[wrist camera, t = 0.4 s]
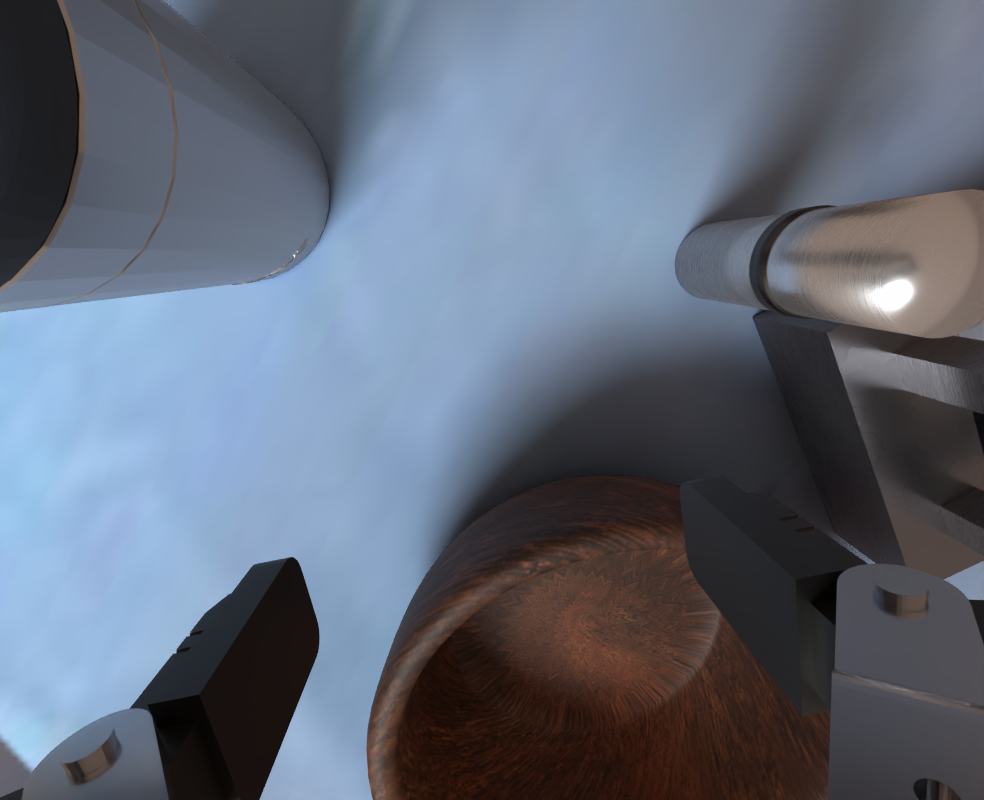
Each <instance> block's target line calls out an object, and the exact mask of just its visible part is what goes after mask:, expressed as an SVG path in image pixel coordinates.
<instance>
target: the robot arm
mask: <svg viewBox="0 0 984 800" xmlns="http://www.w3.org/2000/svg"><path fill="white" fill-rule="evenodd" d="M329 190H330V188H329V182H328V176H327V170H326V166H325V164H324V161H323V158H322V155H321V153H320V150H319V147H318V146H317V144H316V142H315V141H314V139H313V137H312V136H311V134H310V132H309V131H308V129H307V127H306V126H305V125H304V124H303V123H302V122H301V121H300V120H299V118H298V117H297V116H296V115H295V114H294V113H293V112H292V111H291V110H290V109H289V108H288V107H287V106H286V105H284V104H283V103H282V102H281V101H280V100H279V99H277V98H276V97H275V96H274V95H273V94H272V93H270V92H269V91H268V90H267V89H266V88H265V87H263V86H262V85H261V84H260V83H259V82H258V81H257V80H256V79H255V78H253V77H252V76H251V75H250V74H249V73H248V72H246V71H245V70H244V69H243V68H242V67H241V66H239V65H238V64H237V63H236V62H235V61H234V60H232V59H231V58H230V57H229V56H228V55H227V54H225V53H224V52H223V51H222V50H221V49H220V48H218V47H217V46H216V45H215V44H214V43H213V42H211V41H210V40H209V39H208V38H207V37H206V36H204V35H203V34H202V33H201V32H200V31H199V30H197V29H196V28H195V27H194V26H193V25H192V24H190V23H189V22H188V21H187V20H186V19H185V18H183V17H182V16H181V15H180V14H179V13H178V12H176V11H175V10H174V9H173V8H172V7H171V6H169V5H168V4H167V3H166V2H165V1H164V0H0V312H8V311H16V310H24V309H33V308H41V307H49V306H55V305H64V304H72V303H80V302H89V301H97V300H105V299H114V298H122V297H130V296H139V295H147V294H155V293H164V292H172V291H180V290H189V289H197V288H205V287H214V286H222V285H230V284H232V285H237V284H246V283H252V282H256V281H260V280H265V279H270V278H274V277H276V276H278V275H281V274H283V273H285V272H287V271H290V270H291V269H292V268H294V267H295V266H296V265H297V264H299V263H300V262H301V261H303V260H304V259H305V258H306V257H307V255H308V254H309V253H310V252H311V250H312V249H313V248H314V247H315V246H316V244H317V242H318V240H319V238H320V236H321V234H322V232H323V230H324V227H325V223H326V219H327V215H328V211H329ZM680 501H681V510H682V520H683V529H684V539H685V549H686V555H687V559H688V563H689V566H690V568H691V571H692V573H693V575H694V577H695V579H696V581H697V582H698V584H699V585H700V586H701V587H702V589H703V590H704V591H705V593H706V594H707V595H708V596H709V598H710V599H711V600H712V602H713V603H714V604H715V605H716V607H717V608H718V609H719V611H720V612H721V613H722V614H723V616H724V617H725V618H726V620H727V621H728V622H729V623H730V625H731V626H732V627H733V629H734V630H735V631H736V632H737V634H738V635H739V636H740V638H741V639H742V640H743V641H744V643H745V644H746V645H747V647H748V648H749V649H750V650H751V652H752V653H753V654H754V656H755V657H756V658H757V659H758V661H759V662H760V663H761V665H762V666H763V667H764V668H765V670H766V671H767V672H768V673H769V675H770V676H771V677H772V679H773V680H774V681H775V682H776V684H777V685H778V686H779V688H780V689H781V690H782V691H783V693H784V694H785V695H786V697H787V698H788V699H789V700H790V702H791V703H792V704H793V706H794V707H795V708H796V709H797V711H798V712H799V713H800V715H801V716H802V717H804V716H809V715H814V714H819V713H824V712H829V711H831V720H830V751H829V782H828V800H984V600H968V598H967V597H966V596H965V595H964V594H963V593H962V592H961V591H960V590H959V589H958V588H956V587H955V586H953V585H952V584H950V583H949V582H947V581H945V580H943V579H941V578H939V577H937V576H934V575H932V574H930V573H927V572H924V571H921V570H918V569H914V568H909V567H905V566H899V565H892V564H867V563H866V562H864V561H863V560H862V559H860V558H859V557H857V556H856V555H854V554H853V553H851V552H850V551H849V550H847V549H846V548H844V547H843V546H841V545H840V544H838V543H837V542H836V541H834V540H833V539H831V538H830V537H828V536H827V535H826V534H824V533H823V532H821V531H820V530H818V529H817V530H815V529H814V526H813V525H811V524H810V523H808V522H807V521H805V520H804V519H802V518H798V515H797V514H795V513H794V512H792V511H791V510H789V509H788V508H787V507H785V506H784V505H782V504H781V503H779V502H777V501H774V500H771V499H768V498H766V497H763V496H760V495H757V494H754V493H751V494H745V493H744V492H743V491H741V490H740V489H739V488H737V487H736V486H735V485H733V484H732V483H731V482H729V481H728V480H727V479H725V478H724V477H722V476H721V475H716V476H711V477H706V478H700V479H695V480H690V481H685V482H682V484H681V486H680ZM318 649H319V627H318V622H317V618H316V615H315V612H314V609H313V605H312V602H311V599H310V596H309V592H308V589H307V586H306V583H305V579H304V576H303V573H302V570H301V567H300V565H299V563H298V561H297V560H296V559H295V558H293V557H290V558H285V559H279V560H274V561H269V562H264V563H259V564H255V565H253V566H252V567H251V568H250V570H249V571H248V572H247V574H246V575H245V576H244V578H243V579H242V580H241V582H240V583H239V584H238V586H237V587H236V588H235V590H234V591H233V592H232V594H229V595H227V596H226V597H225V598H224V599H222V600H221V601H220V602H219V603H217V604H216V605H215V606H214V607H212V608H211V609H210V610H209V611H207V612H206V613H205V614H204V615H203V617H202V618H201V619H200V621H199V622H198V623H197V624H196V626H195V627H194V628H193V629H192V631H191V632H190V636H188V637H186V638H185V639H184V641H183V642H182V643H181V645H180V646H179V647H178V648H177V653H176V654H173V655H172V656H171V657H170V658H169V660H168V661H167V662H166V663H165V665H164V666H163V667H162V669H161V670H160V671H159V672H158V674H157V675H156V676H155V677H154V679H153V680H152V681H151V682H150V684H149V685H148V686H147V687H146V689H145V690H144V691H143V693H142V694H141V695H140V696H139V698H138V699H137V700H136V701H135V703H134V704H133V705H132V706H131V708H130V709H126V710H122V711H118V712H115V713H112V714H109V715H107V716H105V717H102V718H100V719H98V720H96V721H94V722H92V723H90V724H89V725H87V726H85V727H83V728H82V729H80V730H79V731H77V732H76V733H74V734H73V735H71V736H70V737H68V738H67V739H66V740H64V741H63V742H62V743H60V744H59V745H58V746H57V747H56V748H55V749H53V750H52V751H51V752H50V753H49V754H48V755H47V756H46V757H45V758H44V759H43V760H42V761H41V762H40V763H39V764H38V766H37V767H36V768H35V769H34V771H33V772H32V773H31V775H30V776H29V778H28V780H27V782H26V784H25V786H24V788H22V789H20V790H17V791H15V792H12V793H10V794H7V795H5V796H3V797H1V798H0V800H259V799H260V797H261V794H262V792H263V789H264V787H265V784H266V782H267V779H268V777H269V774H270V772H271V769H272V767H273V764H274V762H275V759H276V757H277V754H278V752H279V749H280V747H281V744H282V742H283V739H284V737H285V734H286V732H287V729H288V727H289V724H290V722H291V719H292V717H293V714H294V712H295V709H296V707H297V704H298V702H299V699H300V697H301V694H302V692H303V689H304V687H305V684H306V682H307V679H308V677H309V674H310V672H311V669H312V667H313V664H314V662H315V659H316V657H317V654H318Z"/></svg>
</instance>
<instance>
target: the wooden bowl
mask: <svg viewBox="0 0 984 800" xmlns="http://www.w3.org/2000/svg"><path fill="white" fill-rule="evenodd" d="M830 720H831V711H829V712H824V713H819V714H814V715H809V716H804V717H802V716H801V715H800V713H799V712H798V711H797V709H796V708H795V707H794V706H793V704H792V703H791V702H790V700H789V699H788V698H787V697H786V695H785V694H784V693H783V691H782V690H781V689H780V688H779V686H778V685H777V684H776V682H775V681H774V680H773V679H772V677H771V676H770V675H769V673H768V672H767V671H766V670H765V668H764V667H763V666H762V665H761V663H760V662H759V661H758V659H757V658H756V657H755V656H754V654H753V653H752V652H751V650H750V649H749V648H748V647H747V645H746V644H745V643H744V641H743V640H742V639H741V638H740V636H739V635H738V634H737V632H736V631H735V630H734V629H733V627H732V626H731V625H730V623H729V622H728V621H727V620H726V618H725V617H724V616H723V614H722V613H721V612H720V611H719V609H718V608H717V607H716V605H715V604H714V603H713V602H712V600H711V599H710V598H709V596H708V595H707V594H706V593H705V591H704V590H703V589H702V587H701V586H700V585H699V584H698V582H697V581H696V579H695V577H694V575H693V573H692V571H691V568H690V566H689V563H688V559H687V555H686V549H685V539H684V529H683V520H682V510H681V501H680V487H679V486H675V485H672V484H668V483H665V482H661V481H658V480H653V479H648V478H642V477H635V476H623V475H592V476H581V477H573V478H568V479H563V480H557V481H554V482H550V483H547V484H543V485H540V486H537V487H534V488H532V489H529V490H527V491H524V492H522V493H519V494H517V495H515V496H513V497H511V498H509V499H507V500H505V501H504V502H502V503H500V504H499V505H497V506H495V507H494V508H492V509H490V510H489V511H488V512H486V513H485V514H484V515H482V516H481V517H480V518H478V519H477V520H476V521H474V522H473V523H472V524H470V525H469V526H468V527H467V528H466V529H465V530H464V531H462V532H461V533H460V534H459V535H458V536H457V537H456V538H455V539H454V540H453V541H452V542H451V543H450V545H449V546H448V547H447V548H446V549H445V550H444V551H443V553H442V554H441V555H440V557H439V558H438V559H437V561H436V562H435V563H434V565H433V566H432V567H431V569H430V570H429V571H428V573H427V574H426V575H425V577H424V579H423V580H422V582H421V584H420V586H419V587H418V589H417V591H416V592H415V594H414V596H413V598H412V600H411V602H410V604H409V606H408V608H407V610H406V613H405V615H404V617H403V619H402V621H401V624H400V626H399V629H398V631H397V633H396V636H395V638H394V641H393V644H392V646H391V649H390V652H389V655H388V657H387V660H386V663H385V666H384V668H383V671H382V674H381V677H380V681H379V684H378V687H377V690H376V694H375V697H374V701H373V704H372V709H371V714H370V719H369V724H368V733H367V762H368V777H369V783H370V788H371V793H372V798H373V800H828V782H829V751H830Z"/></svg>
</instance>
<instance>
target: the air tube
mask: <svg viewBox="0 0 984 800" xmlns="http://www.w3.org/2000/svg"><path fill="white" fill-rule="evenodd" d="M675 272H676V276H677V279H678V281H679V283H680V285H681V286H682V288H683V289H684V290H685V291H686V292H688V293H689V294H691V295H692V296H695V297H698V298H702V299H708V300H713V301H719V302H725V303H730V304H736V305H742V306H747V307H753V308H759V309H765V310H770V311H772V312H774V313H777V314H780V315H784V316H790V317H795V318H801V319H813V318H816V319H821V320H827V321H833V322H839V323H844V324H850V325H856V326H861V327H867V328H873V329H878V330H884V331H890V332H895V333H901V334H907V335H912V336H918V337H924V338H944V337H949V336H953V335H956V334H959V333H962V332H964V331H966V330H968V329H970V328H972V327H973V326H975V325H977V324H978V323H980V322H981V321H982V320H984V191H983V190H975V189H966V190H957V191H949V192H942V193H934V194H927V195H919V196H912V197H904V198H896V199H889V200H881V201H874V202H866V203H859V204H851V205H844V206H830V205H825V206H815V207H808V208H802V209H796V210H793V211H790V212H788V213H783V214H776V215H768V216H761V217H753V218H746V219H738V220H731V221H723V222H715V223H709V224H705V225H702V226H700V227H698V228H696V229H694V230H693V231H692V232H690V233H689V234H688V235H687V236H686V237H685V239H684V240H683V241H682V243H681V245H680V247H679V249H678V251H677V255H676V259H675Z"/></svg>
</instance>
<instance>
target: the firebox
mask: <svg viewBox="0 0 984 800" xmlns="http://www.w3.org/2000/svg"><path fill="white" fill-rule="evenodd" d="M753 320H754V322H755V325H756V327H757V330H758V333H759V335H760V338H761V340H762V343H763V346H764V348H765V351H766V354H767V356H768V359H769V361H770V364H771V367H772V369H773V372H774V374H775V377H776V380H777V382H778V385H779V388H780V390H781V393H782V395H783V398H784V401H785V403H786V406H787V408H788V411H789V414H790V416H791V419H792V422H793V424H794V427H795V429H796V432H797V435H798V437H799V440H800V442H801V445H802V448H803V450H804V453H805V455H806V458H807V461H808V463H809V466H810V469H811V471H812V474H813V476H814V479H815V482H816V484H817V487H818V489H819V492H820V495H821V497H822V500H823V503H824V505H825V508H826V510H827V513H828V516H829V518H830V521H831V523H832V526H833V529H834V531H835V533H836V534H837V535H838V536H840V537H841V538H842V539H844V540H845V541H846V542H848V543H849V544H851V545H852V546H853V547H855V548H856V549H857V550H859V551H860V552H861V553H863V554H864V555H865V556H867V557H868V558H869V559H871V560H872V561H873V562H875V563H876V564H892V565H899V566H905V567H909V568H914V569H918V570H921V571H924V572H927V573H930V574H932V575H934V576H937V577H939V578H941V579H945V578H947V577H950V576H952V575H954V574H956V573H958V572H960V571H962V570H965V569H967V568H969V567H971V566H973V565H975V564H977V563H980V562H982V561H984V320H982V321H981V322H980V323H978V324H977V325H975V326H973V327H972V328H970V329H968V330H966V331H964V332H962V333H959V334H956V335H953V336H949V337H944V338H924V337H918V336H912V335H907V334H901V333H895V332H890V331H884V330H878V329H873V328H867V327H861V326H856V325H850V324H844V323H839V322H833V321H827V320H821V319H816V318H813V319H801V318H795V317H790V316H784V315H780V314H777V313H774V312H772V311H770V310H765V311H763V312H761V313H759V314H758V315H756V316H754V317H753Z"/></svg>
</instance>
